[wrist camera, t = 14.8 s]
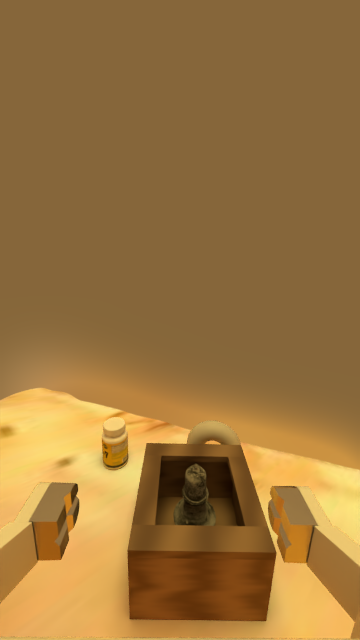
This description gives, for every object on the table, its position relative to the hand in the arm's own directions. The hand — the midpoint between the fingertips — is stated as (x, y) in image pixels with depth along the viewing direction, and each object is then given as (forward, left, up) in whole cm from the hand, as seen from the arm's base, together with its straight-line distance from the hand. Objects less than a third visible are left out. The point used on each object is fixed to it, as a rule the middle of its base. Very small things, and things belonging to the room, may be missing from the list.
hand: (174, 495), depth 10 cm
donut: (+7, +31, -29) cm, 43 cm away
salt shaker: (+3, +19, -28) cm, 34 cm away
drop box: (+3, +18, -29) cm, 34 cm away
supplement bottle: (-12, +32, -29) cm, 45 cm away
